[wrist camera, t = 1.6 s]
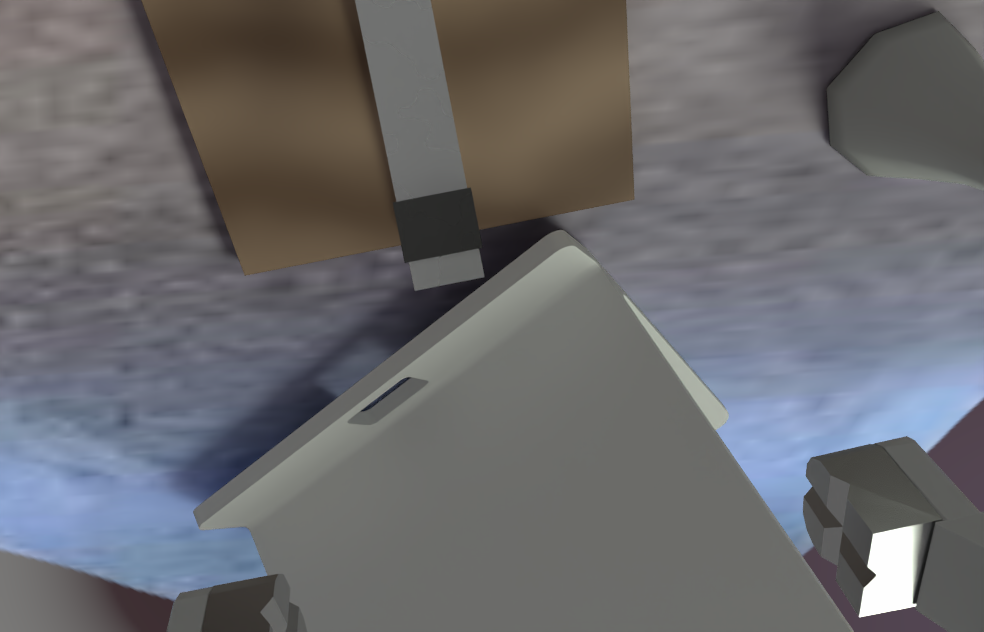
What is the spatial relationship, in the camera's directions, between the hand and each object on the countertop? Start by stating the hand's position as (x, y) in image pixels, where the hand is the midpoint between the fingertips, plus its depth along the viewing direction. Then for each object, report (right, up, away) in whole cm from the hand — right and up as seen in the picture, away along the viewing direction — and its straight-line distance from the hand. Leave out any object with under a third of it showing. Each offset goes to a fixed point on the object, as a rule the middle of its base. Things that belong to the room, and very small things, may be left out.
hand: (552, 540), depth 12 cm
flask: (+18, +14, +25) cm, 33 cm away
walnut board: (-5, +15, +20) cm, 25 cm away
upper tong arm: (-4, +12, +15) cm, 20 cm away
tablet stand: (-2, -4, +33) cm, 33 cm away
